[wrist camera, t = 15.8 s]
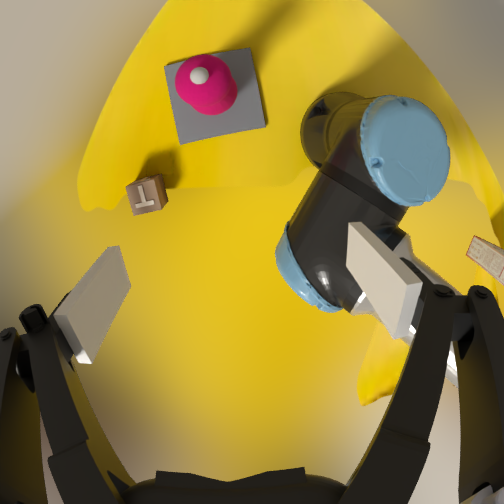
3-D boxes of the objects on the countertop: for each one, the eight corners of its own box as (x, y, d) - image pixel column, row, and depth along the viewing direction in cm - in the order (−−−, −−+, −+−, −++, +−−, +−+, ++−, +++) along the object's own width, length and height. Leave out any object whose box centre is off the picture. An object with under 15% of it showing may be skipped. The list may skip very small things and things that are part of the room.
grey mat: (249, 48, 37) (250, 47, 37) (265, 127, 43) (265, 127, 43) (165, 67, 38) (164, 66, 37) (181, 144, 44) (180, 144, 43)
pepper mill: (194, 72, 38) (165, 39, 20) (240, 75, 39) (242, 42, 21) (189, 114, 41) (155, 109, 23) (234, 117, 42) (233, 113, 24)
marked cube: (161, 172, 46) (153, 178, 41) (168, 200, 48) (161, 209, 43) (135, 179, 46) (124, 186, 41) (142, 206, 48) (133, 216, 44)
